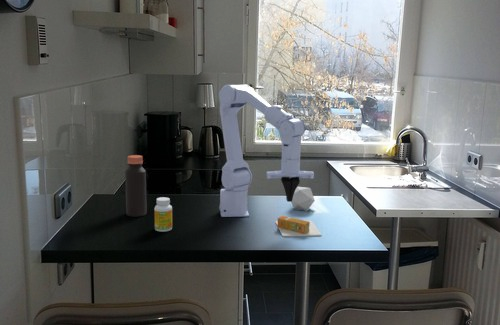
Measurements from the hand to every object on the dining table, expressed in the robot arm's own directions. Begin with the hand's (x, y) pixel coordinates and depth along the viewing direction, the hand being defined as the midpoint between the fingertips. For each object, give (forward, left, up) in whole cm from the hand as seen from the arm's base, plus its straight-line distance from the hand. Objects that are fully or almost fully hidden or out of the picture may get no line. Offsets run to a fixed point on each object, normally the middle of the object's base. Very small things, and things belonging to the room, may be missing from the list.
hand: (289, 200), depth 155 cm
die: (+9, +22, -9) cm, 26 cm away
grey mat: (+3, 0, -9) cm, 10 cm away
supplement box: (-3, +1, -7) cm, 8 cm away
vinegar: (-49, +18, -9) cm, 53 cm away
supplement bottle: (-39, +2, -9) cm, 40 cm away
